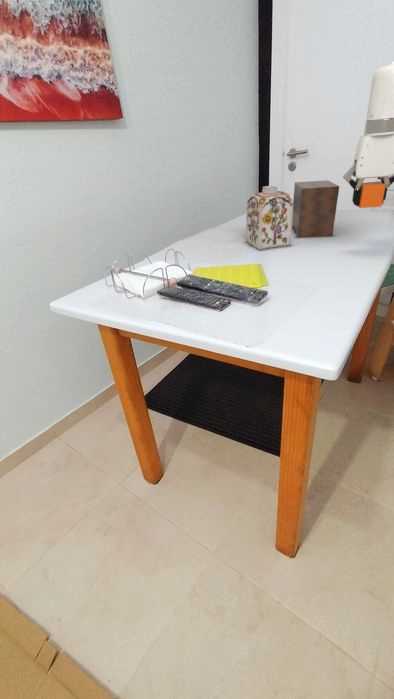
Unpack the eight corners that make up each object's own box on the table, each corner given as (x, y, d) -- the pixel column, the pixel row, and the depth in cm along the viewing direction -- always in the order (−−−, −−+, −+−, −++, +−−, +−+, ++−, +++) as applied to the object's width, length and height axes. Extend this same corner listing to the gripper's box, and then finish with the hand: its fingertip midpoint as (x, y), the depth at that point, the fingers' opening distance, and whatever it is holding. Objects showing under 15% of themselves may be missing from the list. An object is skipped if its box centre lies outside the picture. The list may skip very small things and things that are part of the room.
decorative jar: (245, 241, 120) (246, 186, 111) (275, 237, 122) (278, 183, 113) (259, 250, 111) (260, 190, 101) (291, 245, 113) (296, 186, 103)
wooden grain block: (322, 225, 133) (327, 180, 125) (332, 235, 119) (339, 186, 111) (291, 226, 135) (294, 182, 126) (297, 237, 121) (301, 188, 112)
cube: (374, 202, 97) (378, 181, 94) (381, 206, 93) (385, 184, 90) (354, 204, 98) (357, 183, 95) (360, 208, 94) (363, 186, 91)
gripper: (410, 124, 88) (395, 199, 97) (341, 131, 90) (333, 203, 100) (424, 124, 81) (405, 204, 91) (349, 131, 84) (339, 209, 93)
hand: (367, 203), depth 95 cm, fingers closed on cube, 5 cm apart
